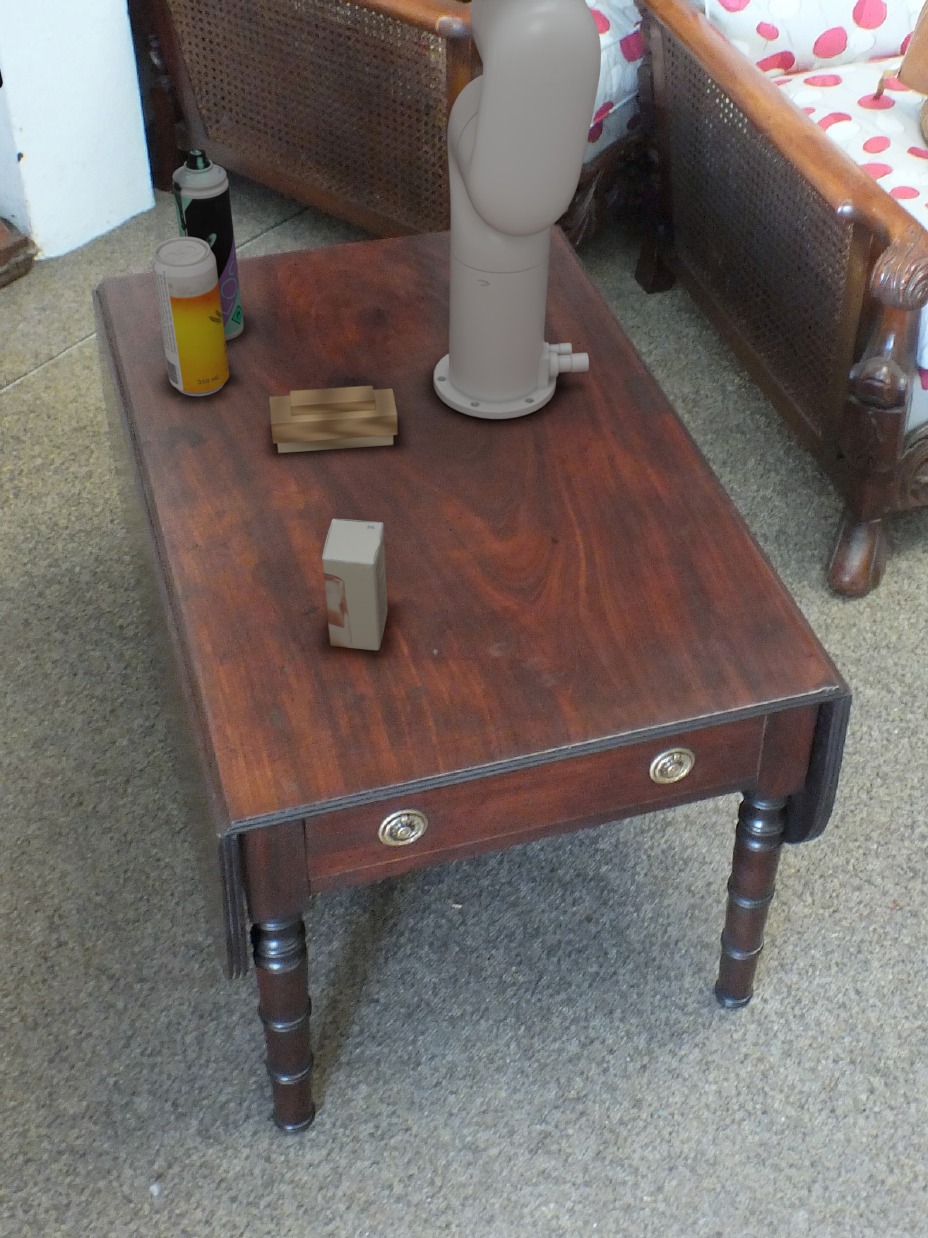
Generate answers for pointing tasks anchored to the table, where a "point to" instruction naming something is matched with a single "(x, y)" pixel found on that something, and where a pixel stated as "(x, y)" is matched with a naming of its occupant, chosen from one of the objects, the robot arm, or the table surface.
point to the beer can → (190, 315)
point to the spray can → (211, 227)
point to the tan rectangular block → (333, 419)
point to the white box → (355, 583)
